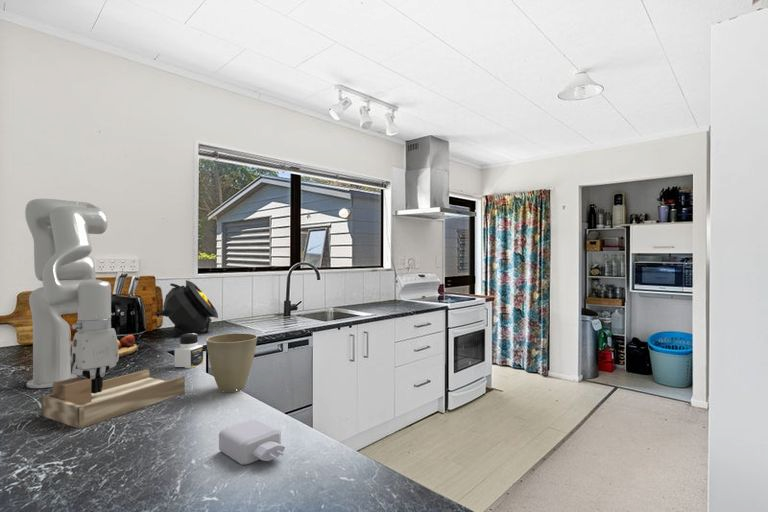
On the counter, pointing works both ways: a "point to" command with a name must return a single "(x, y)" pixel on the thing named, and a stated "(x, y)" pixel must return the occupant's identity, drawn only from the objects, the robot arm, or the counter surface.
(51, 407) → the box
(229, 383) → the plant pot
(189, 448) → the counter surface
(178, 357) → the medicine bottle
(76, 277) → the robot arm
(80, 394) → the walnut block
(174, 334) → the cauldron
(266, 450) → the charger
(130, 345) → the wooden plate with food
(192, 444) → the counter surface
